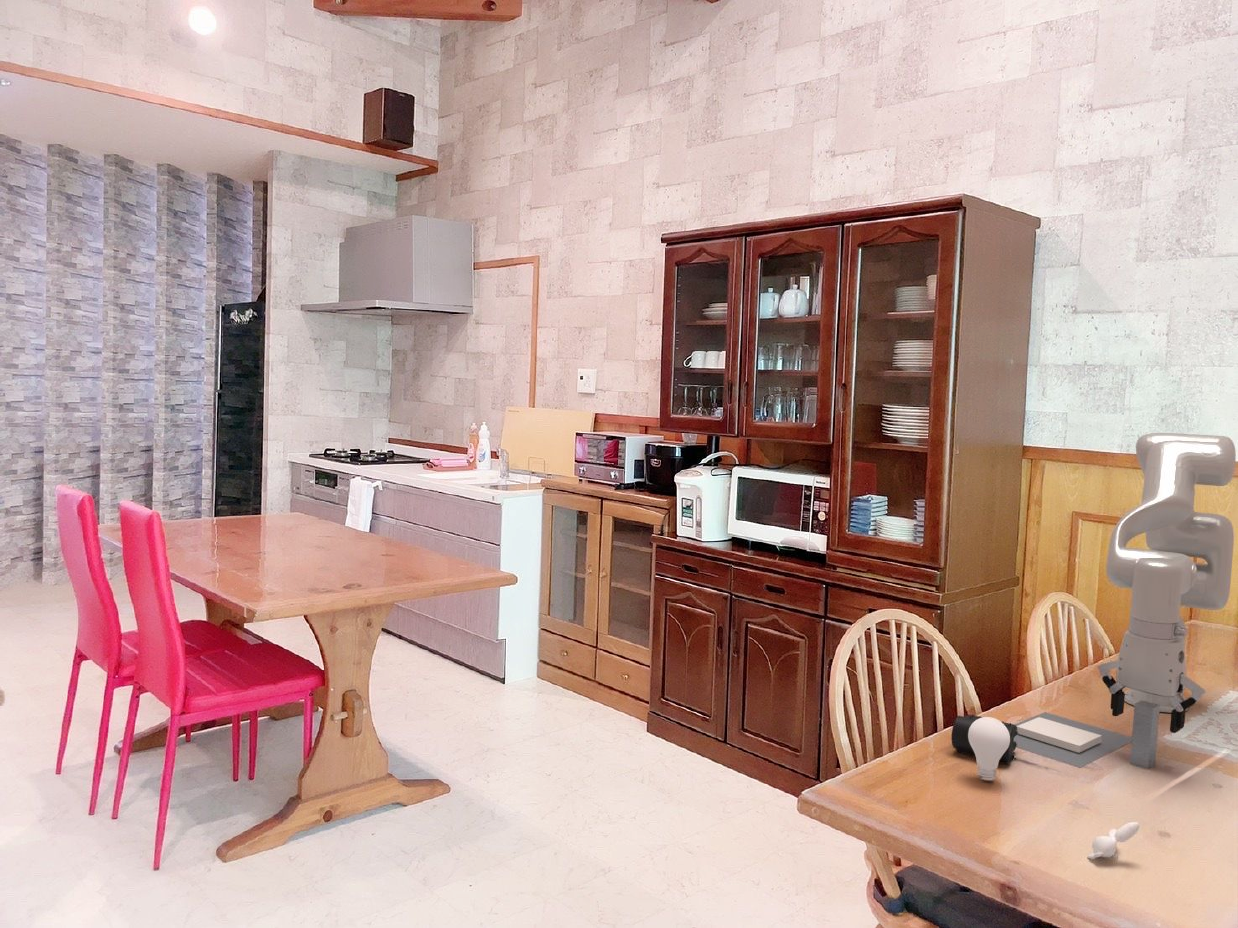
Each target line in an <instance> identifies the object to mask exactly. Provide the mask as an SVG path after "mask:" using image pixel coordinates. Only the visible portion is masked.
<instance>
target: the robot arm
mask: <svg viewBox="0 0 1238 928" xmlns="http://www.w3.org/2000/svg"><path fill="white" fill-rule="evenodd" d="M1135 453H1136V459H1137V462H1138V464H1139V467H1140V470H1141V471H1142V474H1143V477H1144V478H1143V479H1144V480H1143V488H1142V493H1141V494H1142V495H1141V503H1139V504H1138V505H1137V506H1135V507H1134V508H1132V509H1131V510H1129V511H1128V512H1126V514H1124V515H1123V516H1122V517H1121V518H1120V519H1119V521H1117V523H1116V524H1115V526H1114V528H1113V529H1112V532H1111V535H1110V539H1109V543H1108V551H1107V556H1106V557H1107V558H1106V565H1105V566H1106V567H1105V570H1106V571H1105V572H1106V578H1107V579H1108V582H1110V584H1112V585H1113V586H1115V587H1117V588H1123V589H1128V590H1131V596H1130V597H1131V598H1130V608H1129V609H1130V611H1129V625H1128V629H1127V630H1125V632H1124V635H1123V637H1122V641H1121V645H1120V648H1119V652H1118V657H1117V660H1112V661H1109V662H1105V663H1101V664H1099V665H1097V669H1098V672H1099V674H1100V676H1101V679H1102V680H1101V681H1102V682H1103V683H1104V685H1105V686H1106V687H1107V689H1108V692H1109V693H1110V695H1111V697H1110V709H1111V711H1112V712H1111V713H1112V714H1111V716H1112V717H1119V716H1120V715H1122V714H1123V713H1124V711H1125V703H1127V704H1129V705H1131V706H1133V707H1135V703H1137V702H1139V701H1142V700H1143V701H1147V702H1150V703H1154V704H1158V705H1160V711H1159V713H1170V726H1169V732H1170V733H1172V734H1176V733H1178V732H1180V731H1181V730H1182V729H1184V728H1185V723H1186V722H1185V720H1186V712H1187V711H1188V710H1189V708H1190V707H1192V706H1194V705H1196V704H1197V703H1198V702H1199V701H1200V699H1202V697H1203V696H1204V695H1205V693H1206V690H1205V688H1204V687H1202V686H1201V685H1199V684H1198V683H1197V682H1195V681H1194V680H1192V679H1191V678H1189V677H1188V676H1187V675H1186V674H1187V673H1186V671H1187V669H1186V654H1185V651H1186V650H1185V649H1186V637H1187V636H1188V628H1187V627H1186V624H1185V622H1184V621H1185V620H1183V618H1182V617H1181V607H1185V608H1195V609H1201V610H1210V611H1219V610H1222V609H1223V608H1225V607H1227V606H1226V605H1227V604H1228V602H1229V598H1230V593H1231V584H1232V583H1231V581H1232V571H1233V570H1232V567H1233V557H1234V556H1233V554H1234V543H1235V542H1234V541H1235V539H1234V537H1235V535H1234V532H1235V531H1234V528H1233V527H1234V526H1233V524H1232V522H1231V520H1230V519H1229V518H1228V517H1226V516H1224V515H1221V514H1218V513H1209V512H1199V511H1198V512H1197V511H1195V509H1194V508H1195V507H1194V505H1195V495H1196V490H1195V485H1197V486H1199V485H1201V486H1213V487H1224V486H1227V485H1228V484H1230V482H1231V481H1232V479H1233V477H1234V475H1235V474H1234V473H1235V470H1236V463H1237V462H1236V461H1237V459H1236V456H1237V455H1236V453H1237V452H1236V447H1235V443H1234V441H1233V440H1232V439H1231V437H1228V436H1224V435H1214V434H1213V435H1212V434H1210V435H1209V434H1193V433H1192V434H1191V433H1177V432H1154V433H1153V432H1152V433H1145V434H1143V435H1141V436H1140V437H1139V438H1138V439H1137V441H1136V444H1135ZM1142 534H1145V544H1146V546H1147V547H1148V549H1145V548H1137V547H1136V548H1135V547H1127V544H1128V542H1130V541H1131V540H1132V539H1133V538H1135V537H1137V536H1139V535H1142ZM1192 558H1197V559H1203V560H1204V561H1205V562H1206V563H1200V562H1194V560H1193V559H1192ZM1115 669H1116V671H1115V672H1116V674H1115V678H1114V677H1113V676H1112V674H1111V672H1110V671H1111V670H1115ZM1115 679H1116V680H1115ZM1125 688H1128V689H1127V690H1124V689H1125ZM1185 689H1188V690H1189V691H1190V692H1191V694H1190V696H1189V697H1188V698H1187V699H1186V698H1185V697H1184V695H1183V693H1184V692H1185Z"/></svg>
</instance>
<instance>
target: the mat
mask: <svg viewBox="0 0 1238 928" xmlns="http://www.w3.org/2000/svg"><path fill="white" fill-rule="evenodd" d="M1038 717H1041V718H1044V719H1047V720H1051V721H1054V722H1058V723H1061V724H1064V725H1068V726H1071V727H1075V728H1078V729H1081V730H1085V731H1088V732H1092V733H1095V734H1098V735H1102V738H1101V743H1099V744H1096V745H1094V746H1092V747H1090V748H1088V749H1086V750H1084V751H1082V752H1080V753H1076V752H1073V751H1070V750H1067V749H1063V748H1060V747H1057V746H1054V745H1051V744H1047V743H1044V742H1041V741H1038V740H1035V739H1032V738H1028V737H1025V736H1022V735H1020V734H1017V735H1016V736H1015V737H1014V741H1015V742H1016V744H1017V746H1016V749H1020V750H1024V751H1026V752H1029V753H1032V754H1035V755H1038V756H1041V757H1043V758H1044V757H1045V758H1048V759H1051V760H1054V761H1056V762H1060V763H1064V764H1067V765H1069V766H1071V767H1075V768H1079V769H1081V768H1083V767H1085V766H1087V765H1089V764H1090V763H1093V762H1094V761H1097V760H1099V759H1100V758H1103V757H1104V756H1106V755H1107V756H1108V755H1109V754H1111V753H1113V752H1115V751H1117V750H1119V749H1121V748H1122V747H1125V746H1126V745H1129V744H1132V736H1129V735H1126V734H1122V733H1119V732H1115V731H1112V730H1108V729H1105V728H1102V727H1098V726H1095V725H1093V724H1088V723H1084V722H1081V721H1078V720H1075V719H1070V718H1067V717H1063V716H1060V715H1056V714H1053V713H1050V712H1046V711H1044V712H1042V713H1039V714H1037V715H1035V716H1032V717H1029V718H1027V719H1025V720H1022V721H1019V722H1017V723H1014V725H1016V726H1018V725H1021V724H1023V723H1026V722H1028V721H1031V720H1033V719H1036V718H1038Z"/></svg>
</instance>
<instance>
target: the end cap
mask: <svg viewBox="0 0 1238 928" xmlns="http://www.w3.org/2000/svg"><path fill="white" fill-rule="evenodd" d="M979 718H982V716H979V715H974V714H967V715H966V716H962V715H958V716H956V718H955V720H954V722H953V725H952V729H951V745H952V748H953V749H955V750H956V752H957V753H960V754H965V755H969V756H973V757H976V755H975V753H974V751H973V749H972V747H971V745H970V743H969V739H968V732H969V728H970V726H971V725H972V723H973V722H974V721H976V720H977V719H979ZM1001 722H1002V723H1003V724H1004V725H1005V726H1006V728H1007V730H1008V732H1009V735H1010V744H1009V747H1008V749H1007V750H1006V751H1005V753H1004V754H1003V755H1002V757H1001V758H1000V760H999V763H1000V764H1005V765H1010V764H1011V763H1012V760H1013V759H1014V760H1015V758H1016V757H1015V754H1014V751H1015V750H1016V749H1017V747H1016V746H1017V744H1016V742H1015V741H1014V737H1015V736H1016V735H1017V734H1018V732H1017V726H1016V725H1014V724H1015V723H1014V724H1013V723H1011V722H1004V721H1001ZM1014 760H1013V761H1014Z"/></svg>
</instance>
